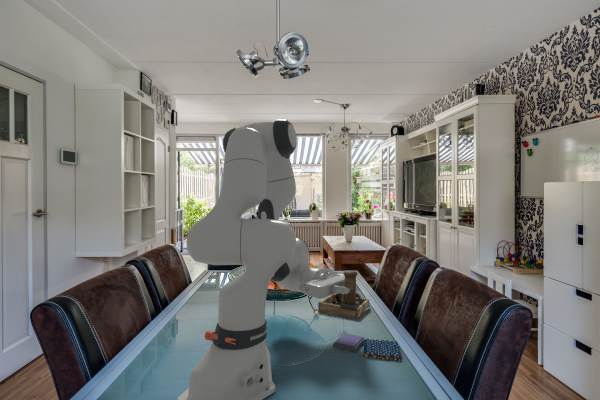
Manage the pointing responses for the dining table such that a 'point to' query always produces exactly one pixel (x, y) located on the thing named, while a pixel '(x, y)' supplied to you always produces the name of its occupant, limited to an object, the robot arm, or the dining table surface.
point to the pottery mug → (341, 297)
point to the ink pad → (349, 342)
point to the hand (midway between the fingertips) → (353, 289)
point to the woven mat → (381, 349)
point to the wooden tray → (335, 309)
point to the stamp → (350, 298)
